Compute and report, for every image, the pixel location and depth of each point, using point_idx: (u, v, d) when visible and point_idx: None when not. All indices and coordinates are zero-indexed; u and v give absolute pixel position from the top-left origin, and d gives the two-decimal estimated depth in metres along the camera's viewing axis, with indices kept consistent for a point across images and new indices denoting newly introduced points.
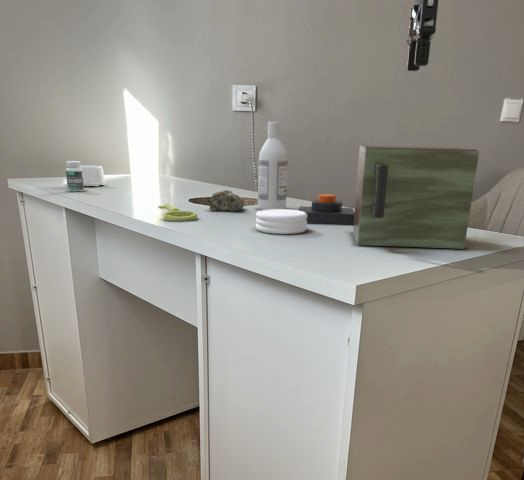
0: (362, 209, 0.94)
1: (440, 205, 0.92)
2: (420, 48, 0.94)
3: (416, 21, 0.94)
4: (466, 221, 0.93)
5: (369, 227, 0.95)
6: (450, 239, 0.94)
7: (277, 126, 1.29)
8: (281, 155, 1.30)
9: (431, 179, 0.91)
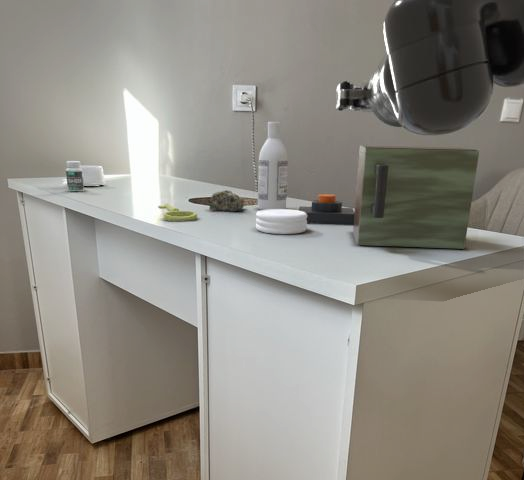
0: (362, 209, 0.94)
1: (440, 205, 0.92)
2: None
3: (365, 82, 0.66)
4: (466, 221, 0.93)
5: (369, 227, 0.95)
6: (450, 239, 0.94)
7: (277, 126, 1.29)
8: (281, 155, 1.30)
9: (431, 179, 0.91)
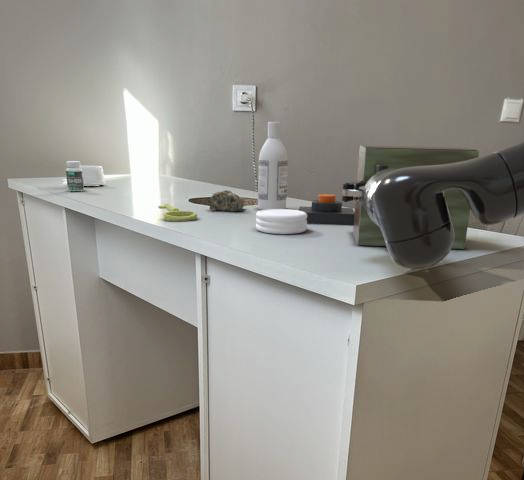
0: (362, 209, 0.94)
1: None
2: None
3: None
4: (466, 221, 0.93)
5: (369, 227, 0.95)
6: None
7: (277, 126, 1.29)
8: (281, 155, 1.30)
9: None
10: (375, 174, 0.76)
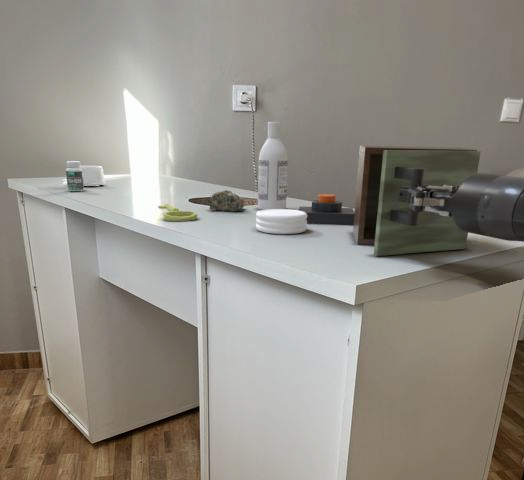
0: (382, 217, 0.86)
1: None
2: (407, 191, 0.80)
3: (430, 187, 0.76)
4: None
5: (388, 235, 0.87)
6: (455, 240, 0.93)
7: (277, 126, 1.29)
8: (281, 155, 1.30)
9: (442, 181, 0.88)
10: (469, 180, 0.69)
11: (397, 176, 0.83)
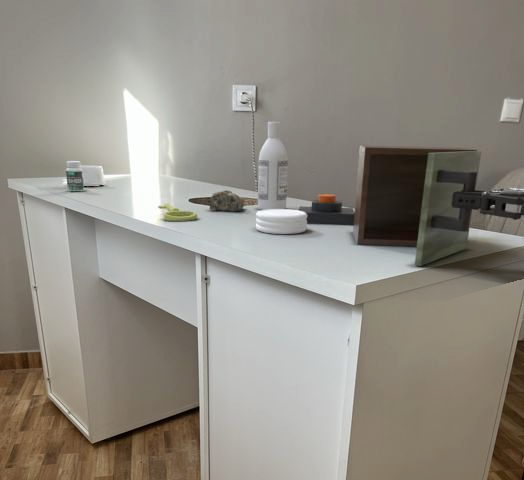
0: (426, 224, 0.80)
1: None
2: (469, 197, 0.74)
3: (505, 192, 0.72)
4: (469, 221, 0.93)
5: (428, 243, 0.82)
6: (462, 241, 0.92)
7: (277, 126, 1.29)
8: (281, 155, 1.30)
9: None
10: None
11: (442, 180, 0.78)
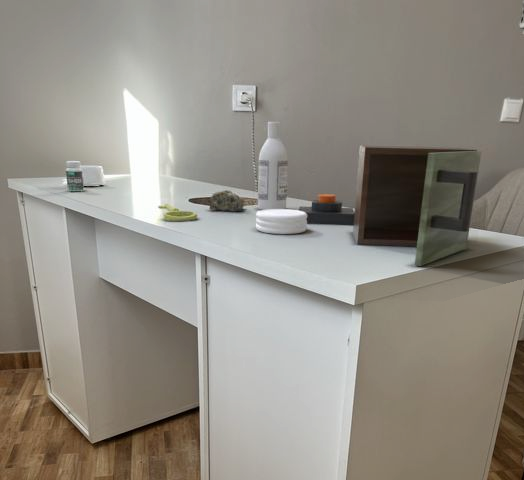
0: (426, 224, 0.80)
1: None
2: (522, 10, 0.66)
3: None
4: (469, 221, 0.93)
5: (428, 243, 0.82)
6: (462, 241, 0.92)
7: (277, 126, 1.29)
8: (281, 155, 1.30)
9: None
10: None
11: (442, 180, 0.78)
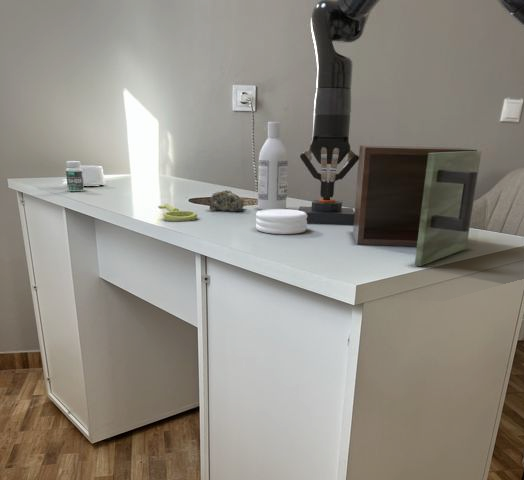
0: (426, 224, 0.80)
1: None
2: None
3: None
4: (469, 221, 0.93)
5: (428, 243, 0.82)
6: (462, 241, 0.92)
7: (277, 126, 1.29)
8: (281, 155, 1.30)
9: None
10: None
11: (442, 180, 0.78)
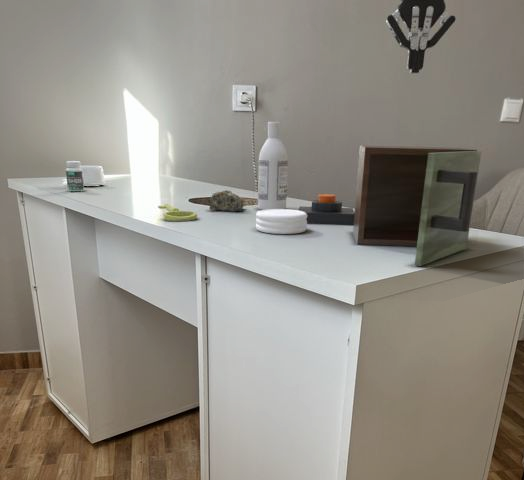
0: (426, 224, 0.80)
1: None
2: (408, 58, 1.06)
3: None
4: (469, 221, 0.93)
5: (428, 243, 0.82)
6: (462, 241, 0.92)
7: (277, 126, 1.29)
8: (281, 155, 1.30)
9: None
10: None
11: (442, 180, 0.78)
